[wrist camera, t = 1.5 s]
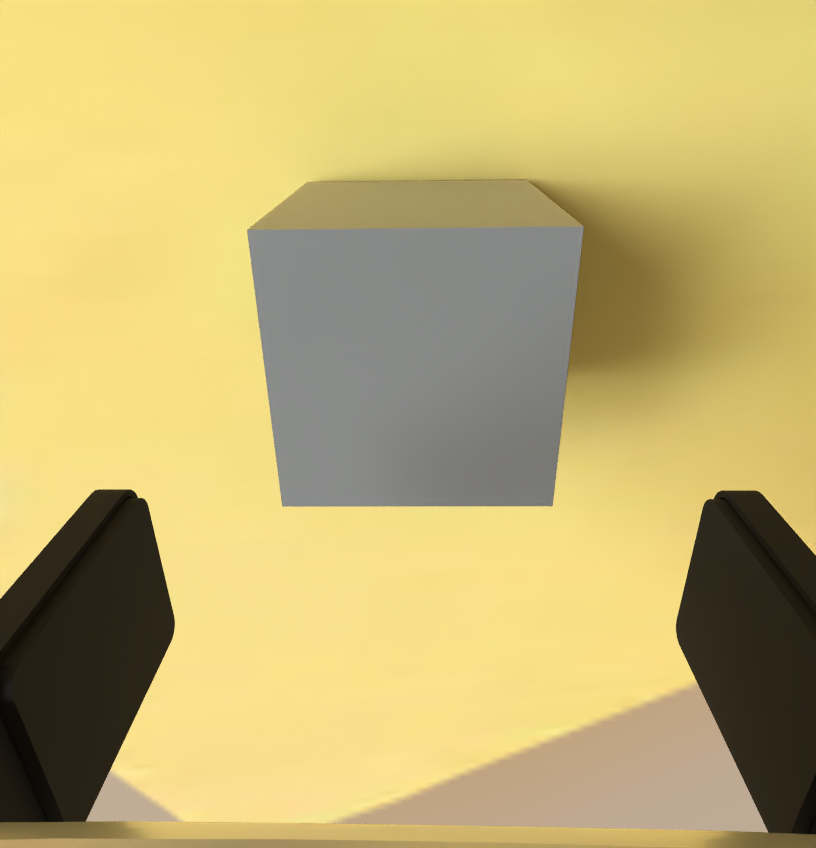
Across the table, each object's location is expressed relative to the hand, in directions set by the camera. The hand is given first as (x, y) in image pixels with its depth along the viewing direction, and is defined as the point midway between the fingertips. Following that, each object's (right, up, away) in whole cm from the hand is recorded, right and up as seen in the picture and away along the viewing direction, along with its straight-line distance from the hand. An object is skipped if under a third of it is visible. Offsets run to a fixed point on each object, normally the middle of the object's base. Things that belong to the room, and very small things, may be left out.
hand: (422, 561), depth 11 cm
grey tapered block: (0, +7, +13) cm, 15 cm away
